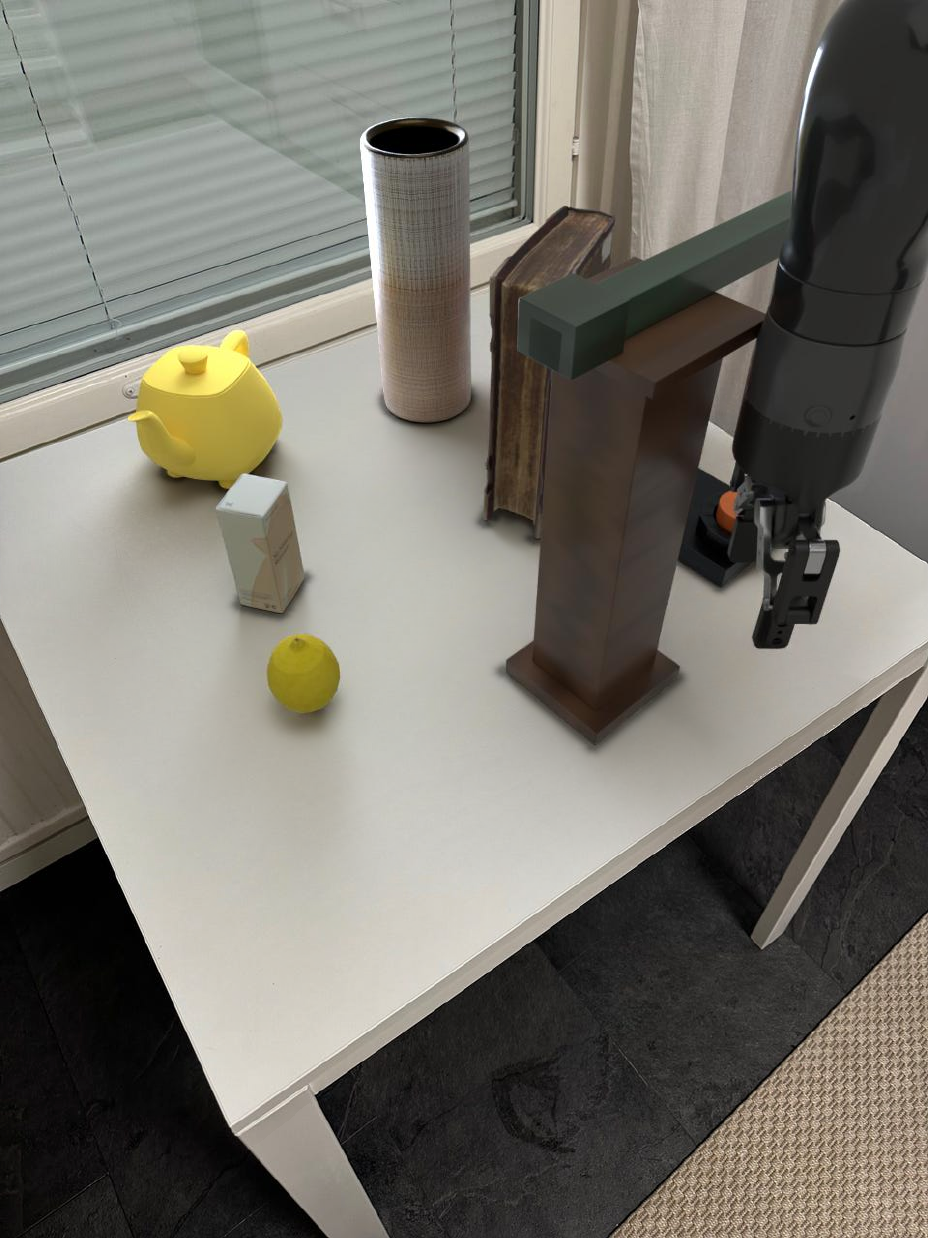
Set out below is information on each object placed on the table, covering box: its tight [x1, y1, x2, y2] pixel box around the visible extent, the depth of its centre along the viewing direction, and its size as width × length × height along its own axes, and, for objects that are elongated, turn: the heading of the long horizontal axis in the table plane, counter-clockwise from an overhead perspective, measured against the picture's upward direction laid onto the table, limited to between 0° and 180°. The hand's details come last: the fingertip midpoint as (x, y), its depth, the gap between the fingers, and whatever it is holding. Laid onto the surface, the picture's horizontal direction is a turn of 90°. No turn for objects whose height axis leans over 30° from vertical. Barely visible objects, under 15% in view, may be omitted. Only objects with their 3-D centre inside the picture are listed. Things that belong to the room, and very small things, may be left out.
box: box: [215, 473, 306, 614], centre depth 77 cm, size 5×4×11 cm
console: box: [677, 467, 773, 588], centre depth 84 cm, size 13×10×4 cm
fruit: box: [266, 633, 341, 714], centre depth 69 cm, size 6×6×8 cm
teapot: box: [127, 329, 284, 490], centre depth 89 cm, size 13×20×12 cm
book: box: [482, 205, 616, 539], centre depth 81 cm, size 17×7×25 cm, turn 150°
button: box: [716, 491, 739, 533], centre depth 80 cm, size 4×4×2 cm
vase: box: [360, 116, 472, 424], centre depth 91 cm, size 10×10×28 cm
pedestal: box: [505, 256, 766, 746], centre depth 62 cm, size 10×10×32 cm
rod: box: [517, 189, 792, 380], centre depth 51 cm, size 4×24×3 cm, turn 132°
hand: (754, 599), depth 61 cm, fingers open, 8 cm apart
